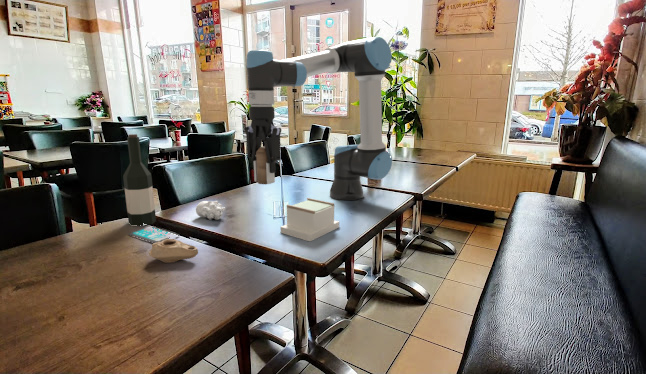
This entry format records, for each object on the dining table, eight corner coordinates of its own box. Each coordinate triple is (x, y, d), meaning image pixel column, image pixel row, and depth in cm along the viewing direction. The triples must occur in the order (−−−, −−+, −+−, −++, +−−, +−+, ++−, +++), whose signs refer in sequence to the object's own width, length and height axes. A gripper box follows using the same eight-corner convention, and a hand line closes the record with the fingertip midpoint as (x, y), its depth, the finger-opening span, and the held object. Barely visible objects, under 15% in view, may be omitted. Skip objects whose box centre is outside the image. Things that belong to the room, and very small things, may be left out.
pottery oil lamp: (189, 268, 86) (172, 247, 83) (156, 274, 91) (139, 255, 88) (207, 244, 93) (192, 224, 90) (175, 251, 98) (160, 232, 95)
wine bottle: (161, 220, 122) (152, 134, 115) (142, 227, 114) (131, 136, 107) (142, 217, 125) (133, 133, 118) (123, 224, 117) (111, 135, 110)
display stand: (311, 219, 124) (311, 196, 122) (339, 227, 117) (339, 202, 115) (280, 232, 112) (280, 206, 110) (309, 241, 105) (310, 213, 103)
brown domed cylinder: (265, 180, 113) (263, 145, 110) (276, 182, 110) (274, 146, 107) (254, 182, 109) (252, 146, 106) (265, 185, 106) (263, 148, 103)
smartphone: (156, 243, 100) (126, 233, 108) (157, 246, 101) (126, 236, 108) (181, 234, 108) (151, 225, 115) (182, 237, 108) (152, 228, 115)
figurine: (209, 205, 131) (233, 208, 125) (201, 221, 128) (225, 225, 122) (197, 196, 125) (222, 198, 120) (188, 212, 122) (213, 216, 117)
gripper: (232, 105, 106) (236, 180, 111) (274, 106, 96) (277, 188, 101) (250, 105, 112) (253, 176, 117) (292, 106, 101) (293, 183, 107)
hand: (264, 181), depth 109 cm, fingers closed on brown domed cylinder, 5 cm apart
